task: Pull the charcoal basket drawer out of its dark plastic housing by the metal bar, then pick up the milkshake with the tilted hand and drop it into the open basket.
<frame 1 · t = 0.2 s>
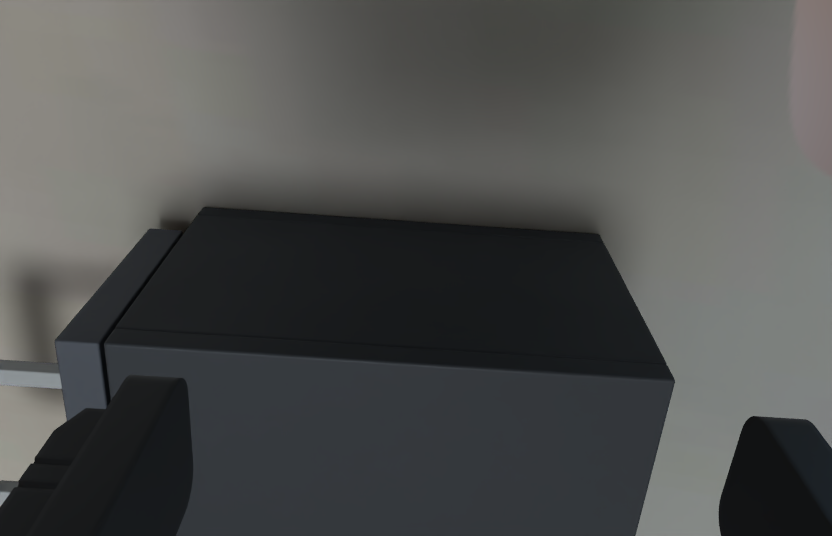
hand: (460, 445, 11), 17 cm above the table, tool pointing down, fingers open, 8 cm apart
drawer: (239, 431, 26), point 5 cm above the table, slide at 0.5 cm
small filing cabinet: (392, 365, 31), on the table
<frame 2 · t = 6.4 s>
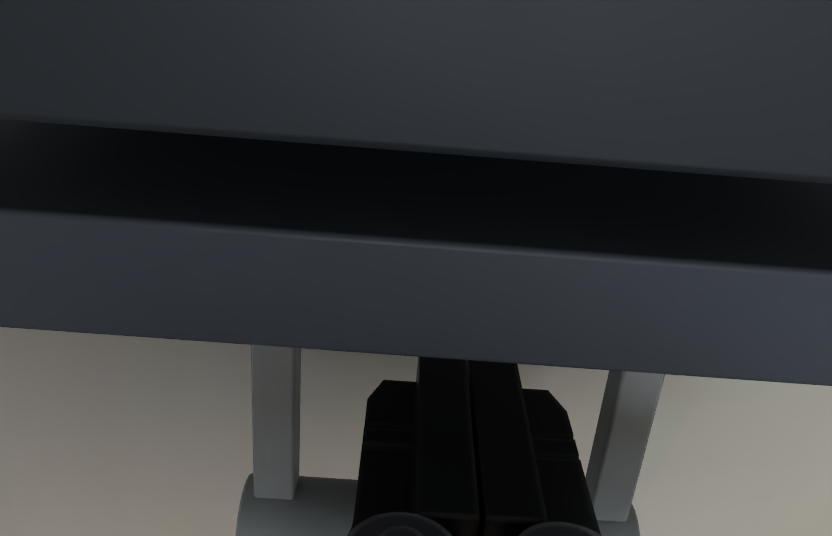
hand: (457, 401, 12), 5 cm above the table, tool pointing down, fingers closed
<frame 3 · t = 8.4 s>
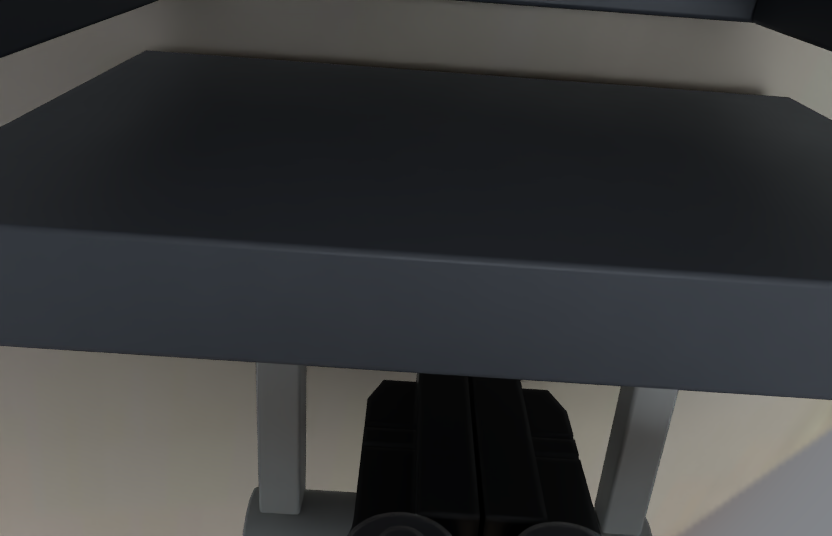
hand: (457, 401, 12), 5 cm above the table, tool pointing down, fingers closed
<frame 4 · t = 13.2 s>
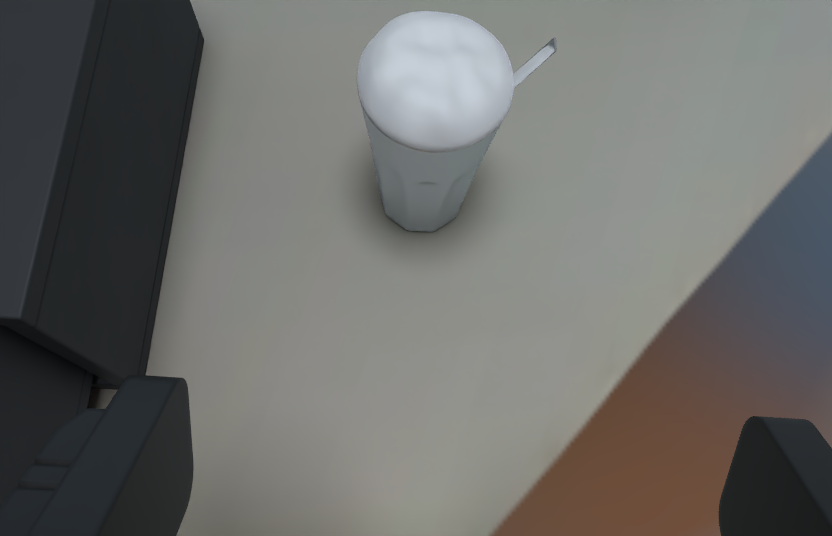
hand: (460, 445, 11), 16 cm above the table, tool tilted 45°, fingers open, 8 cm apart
milkshake: (431, 197, 30), on the table
small filing cabinet: (9, 188, 29), on the table
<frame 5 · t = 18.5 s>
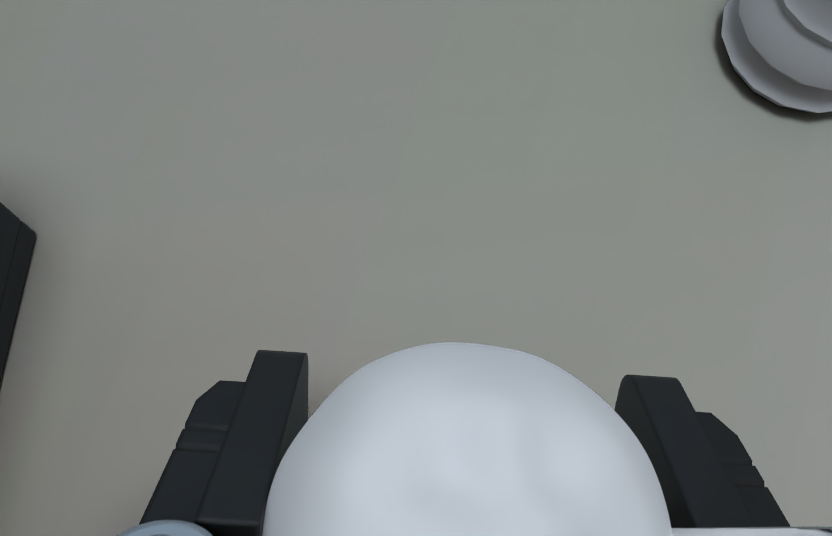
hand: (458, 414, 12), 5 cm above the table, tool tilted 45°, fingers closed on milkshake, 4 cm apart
rook chess piece: (792, 53, 21), on the table
when the fingers open (10 cm above the table, at t = 43.5 s): milkshake moves 2 cm, resting on drawer.
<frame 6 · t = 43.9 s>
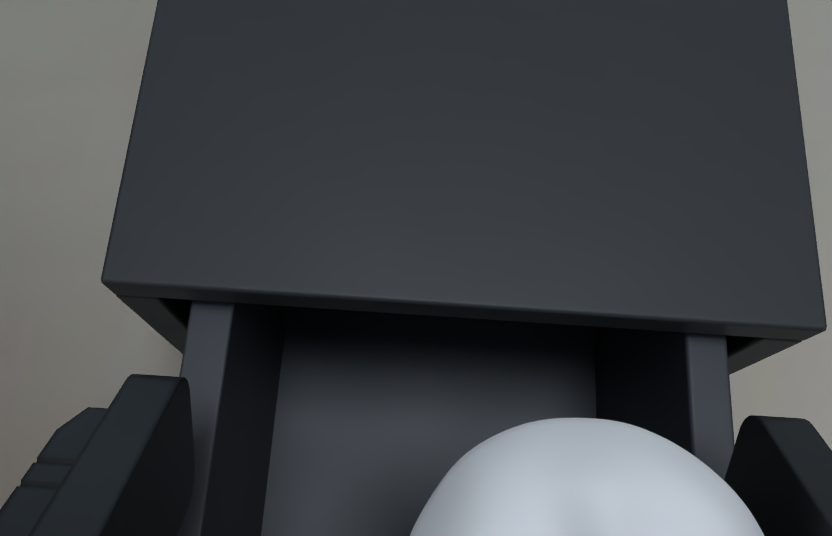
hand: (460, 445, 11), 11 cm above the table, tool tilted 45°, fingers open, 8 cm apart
small filing cabinet: (445, 172, 25), on the table
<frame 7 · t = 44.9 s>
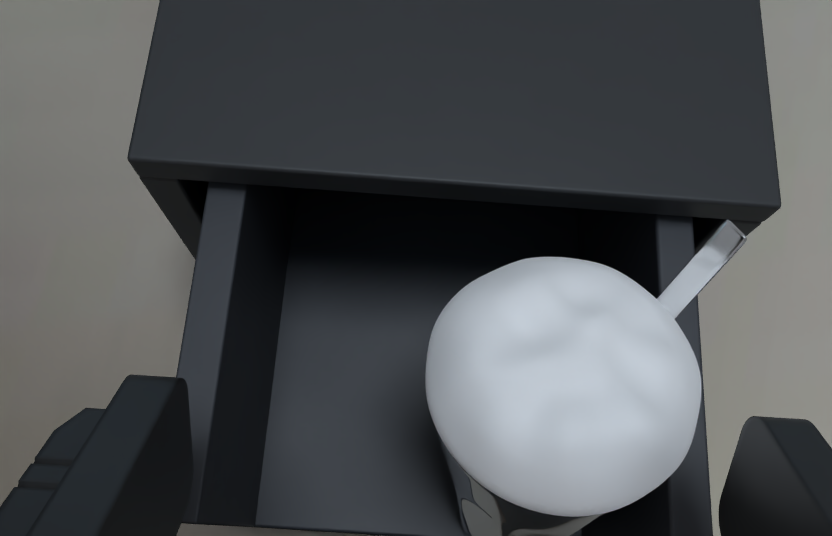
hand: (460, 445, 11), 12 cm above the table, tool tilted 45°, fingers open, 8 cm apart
drawer: (428, 473, 17), point 5 cm above the table, slide at 7.7 cm, touching milkshake
milkshake: (528, 488, 20), point 2 cm above the table, touching drawer
small filing cabinet: (440, 111, 26), on the table
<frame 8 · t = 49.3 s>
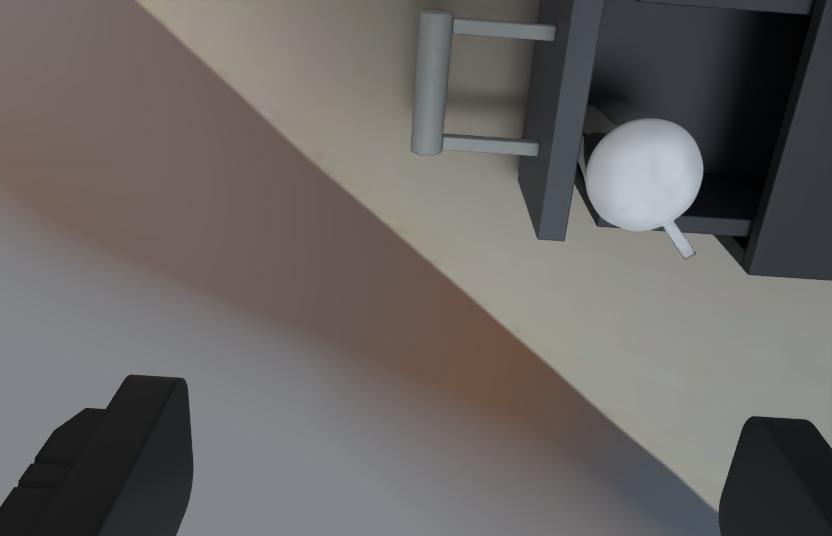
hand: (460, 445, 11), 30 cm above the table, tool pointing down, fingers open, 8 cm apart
drawer: (630, 93, 34), point 5 cm above the table, slide at 7.8 cm, touching milkshake
milkshake: (605, 136, 38), point 2 cm above the table, touching drawer
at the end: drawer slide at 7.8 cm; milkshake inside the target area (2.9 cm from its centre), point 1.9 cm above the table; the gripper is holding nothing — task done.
